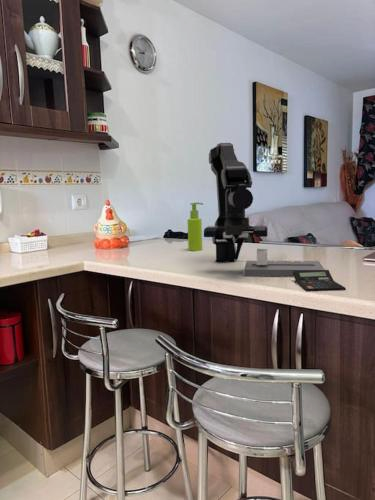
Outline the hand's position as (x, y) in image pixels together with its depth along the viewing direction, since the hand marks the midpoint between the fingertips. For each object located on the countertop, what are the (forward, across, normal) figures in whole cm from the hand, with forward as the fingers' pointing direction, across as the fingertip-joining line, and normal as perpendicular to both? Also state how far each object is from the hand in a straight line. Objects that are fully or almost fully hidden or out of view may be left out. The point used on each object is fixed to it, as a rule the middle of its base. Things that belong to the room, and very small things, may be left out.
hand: (236, 259), depth 116 cm
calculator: (+4, +22, -16) cm, 27 cm away
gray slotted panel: (+4, +14, 0) cm, 14 cm away
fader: (+1, +8, 0) cm, 8 cm away
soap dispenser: (+4, -20, +43) cm, 48 cm away
